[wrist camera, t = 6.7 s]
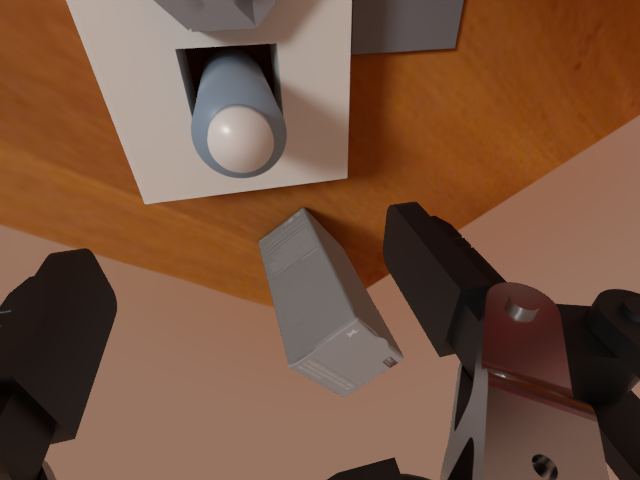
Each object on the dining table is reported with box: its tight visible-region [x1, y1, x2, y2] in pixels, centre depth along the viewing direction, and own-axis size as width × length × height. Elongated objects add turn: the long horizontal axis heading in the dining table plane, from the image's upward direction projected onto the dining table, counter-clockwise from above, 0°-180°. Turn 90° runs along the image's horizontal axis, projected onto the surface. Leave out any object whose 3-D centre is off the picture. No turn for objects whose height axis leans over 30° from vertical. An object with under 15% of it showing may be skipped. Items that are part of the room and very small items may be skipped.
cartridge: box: [191, 48, 287, 178], centre depth 22 cm, size 5×5×13 cm
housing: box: [66, 0, 352, 204], centre depth 22 cm, size 20×16×7 cm
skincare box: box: [259, 208, 404, 397], centre depth 32 cm, size 8×7×16 cm
